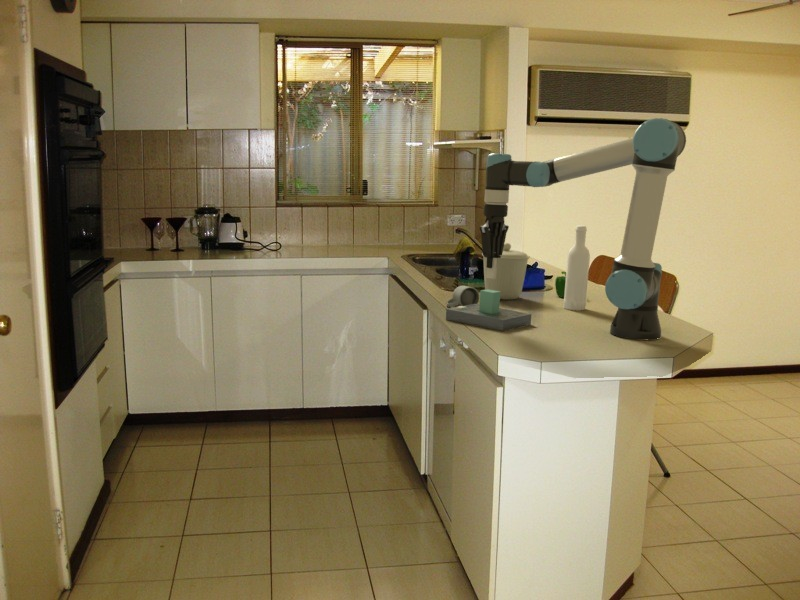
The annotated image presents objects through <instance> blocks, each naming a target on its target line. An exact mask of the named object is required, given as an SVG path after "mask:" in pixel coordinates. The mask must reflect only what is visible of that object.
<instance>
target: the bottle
mask: <svg viewBox="0 0 800 600" xmlns="http://www.w3.org/2000/svg"><path fill="white" fill-rule="evenodd" d="M574 234H575V236H574V245H573V246H572V247H570V248H569V251H568V253H567V260H566V271H565V272H566V282H565V294H564V298H563V303H562V304H563V309H564V310H569V311H575V310H576V311H579V312H581V310H582V311H584V310H586V305H587V294H588V293H587V292H588V281H589V271H590V270H589V269H590V260H591V254H590V251H589V249H588V247H586V238H587V237H586V235H587V226H586V225H581V224H580V225H579V224H578V225H576V226H575V233H574Z"/></svg>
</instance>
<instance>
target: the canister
mask: <svg viewBox="0 0 800 600" xmlns="http://www.w3.org/2000/svg"><path fill="white" fill-rule="evenodd" d="M511 248H512V245H511V243H509V242H505V243H504V248H503V253H502V255H500V256H501V258H498V259H497V269H496V278H495V279H491V278H486V272H487V257H484V256H483V252H481V256H483V276H484V277H483V279H484V280H483V281H484V290H487V289H489V290H494V291H500V300H503V301H505V300H507V301H509V300H516V299H518V298H520V296H521V295H522V291H523V287H524V282H525V277H526V272H527V266H528V261H529V259H530V256H529V255H528V254H527V253H526V252H524V251H520V250H514V249H511Z"/></svg>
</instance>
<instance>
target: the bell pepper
mask: <svg viewBox="0 0 800 600" xmlns="http://www.w3.org/2000/svg"><path fill="white" fill-rule="evenodd" d="M561 274H562V275H561V276H556V278H555V280H554V281H555V283H554V286H555V292H556V295H557V296H558V297H560V298H563V299H564V294H565V282H566V271H564V270H563V271H561Z"/></svg>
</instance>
